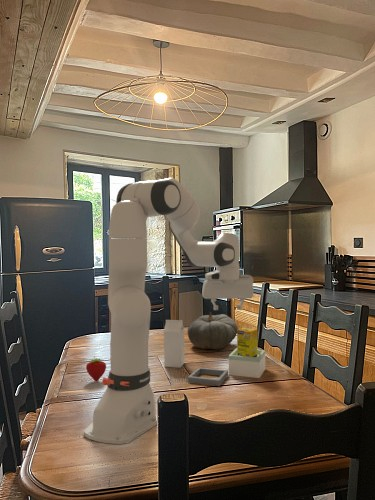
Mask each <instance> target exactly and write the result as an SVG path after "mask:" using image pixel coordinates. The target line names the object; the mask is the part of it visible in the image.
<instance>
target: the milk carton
mask: <svg viewBox="0 0 375 500" xmlns="http://www.w3.org/2000/svg"><path fill="white" fill-rule="evenodd" d="M163 348H164V349H163V350H164V351H163V353H164V354H163V355H164V356H163V357H164V358H163V359H164V362H163V363H164V364H163V365H164V367H165V368H182V367H183V365H184V364H185V359H186V358H185V326H184V324H183V320H182V319H180V320H179V319H178V320H177V319H165V325H164V328H163Z"/></svg>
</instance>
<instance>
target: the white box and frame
mask: <svg viewBox="0 0 375 500" xmlns="http://www.w3.org/2000/svg"><path fill="white" fill-rule="evenodd" d="M265 370H266V350H264V349H257V357H247V356H237V347H236V348H234V349H233V351H231V353H229V355H228V370H227V369H218V368H209V367H208V368H207V367H198V368H197V369H195V370H194V371H192V373H190V375H188V376H187V383H191V384H198V385H199V384H200V385H206V384H208V386H214V385H216V386H217V387H220V386H221V385H220V384H223V383H224V381H225V380H226V379H227V378H228V376H235V377H236V376H237V377H245V378H254V379H255V378H257V379H260V378H261V376H262V375H263V373H264V372H265ZM199 375H210V376H211V375H212V376H218V377H217V378H209V377H200V376H199Z"/></svg>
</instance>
